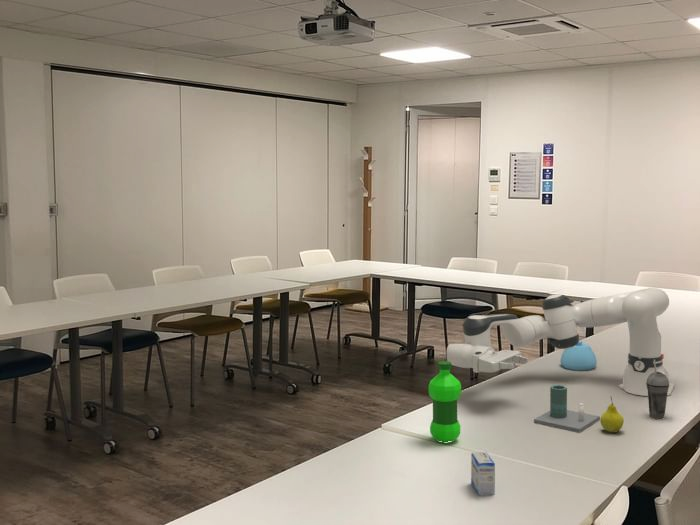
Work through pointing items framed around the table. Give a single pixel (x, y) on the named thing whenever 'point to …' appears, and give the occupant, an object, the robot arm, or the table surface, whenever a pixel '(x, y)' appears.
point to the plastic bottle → (445, 404)
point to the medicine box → (483, 473)
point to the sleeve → (558, 401)
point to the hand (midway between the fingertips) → (520, 363)
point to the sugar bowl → (579, 357)
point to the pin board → (569, 420)
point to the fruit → (612, 419)
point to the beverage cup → (657, 393)
